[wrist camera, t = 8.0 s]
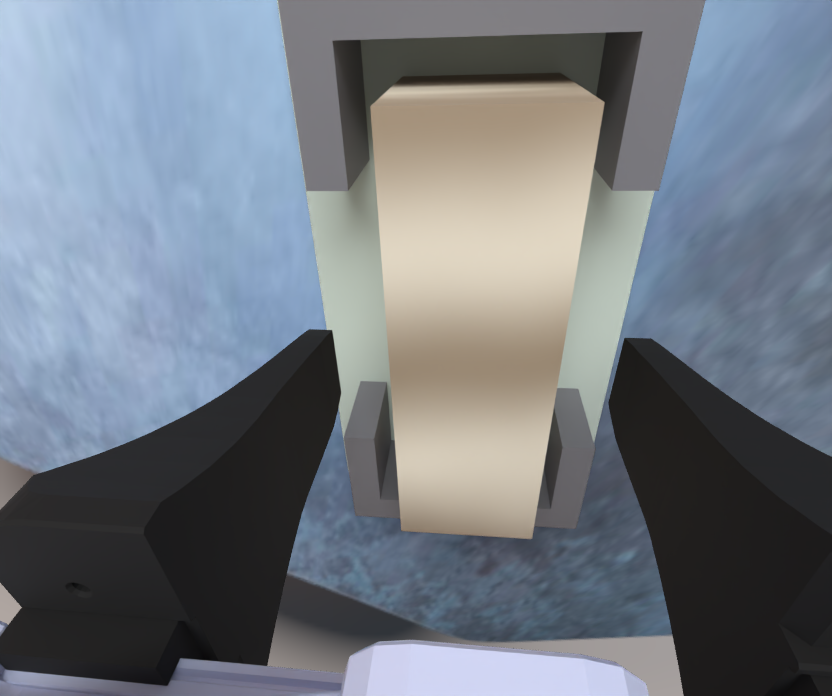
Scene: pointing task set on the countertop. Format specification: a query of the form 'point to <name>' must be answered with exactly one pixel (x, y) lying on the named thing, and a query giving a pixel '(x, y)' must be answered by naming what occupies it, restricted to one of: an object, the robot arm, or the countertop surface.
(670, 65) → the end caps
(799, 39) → the countertop surface
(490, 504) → the slat
